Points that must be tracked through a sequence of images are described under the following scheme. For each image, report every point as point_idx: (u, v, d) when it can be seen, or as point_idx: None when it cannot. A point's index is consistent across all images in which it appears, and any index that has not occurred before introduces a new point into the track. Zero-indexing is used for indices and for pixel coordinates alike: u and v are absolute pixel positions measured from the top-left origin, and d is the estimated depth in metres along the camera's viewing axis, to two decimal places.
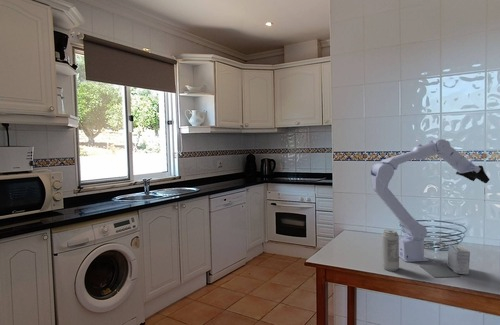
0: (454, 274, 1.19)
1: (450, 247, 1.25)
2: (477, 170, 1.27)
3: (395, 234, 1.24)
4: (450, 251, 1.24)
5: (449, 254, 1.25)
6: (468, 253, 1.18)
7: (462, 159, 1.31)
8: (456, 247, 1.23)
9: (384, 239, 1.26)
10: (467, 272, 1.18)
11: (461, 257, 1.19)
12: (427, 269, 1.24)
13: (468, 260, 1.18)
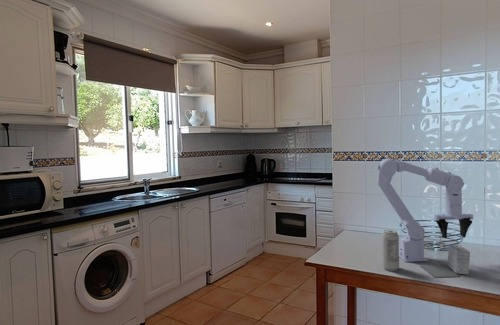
0: (454, 274, 1.19)
1: (450, 247, 1.25)
2: (435, 218, 1.32)
3: (395, 234, 1.24)
4: (451, 251, 1.24)
5: (449, 254, 1.25)
6: (468, 253, 1.18)
7: (448, 206, 1.30)
8: (456, 247, 1.23)
9: (384, 239, 1.26)
10: (467, 272, 1.18)
11: (461, 257, 1.19)
12: (427, 269, 1.24)
13: (468, 260, 1.18)
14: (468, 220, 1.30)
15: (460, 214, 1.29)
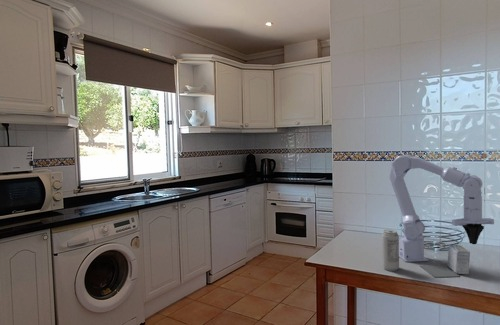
0: (454, 274, 1.19)
1: (450, 247, 1.25)
2: (452, 223, 1.23)
3: (395, 234, 1.24)
4: (451, 251, 1.24)
5: (449, 254, 1.25)
6: (468, 253, 1.18)
7: (467, 210, 1.21)
8: (456, 247, 1.23)
9: (384, 239, 1.26)
10: (467, 272, 1.18)
11: (461, 257, 1.19)
12: (427, 269, 1.24)
13: (468, 260, 1.18)
14: None
15: (480, 219, 1.20)
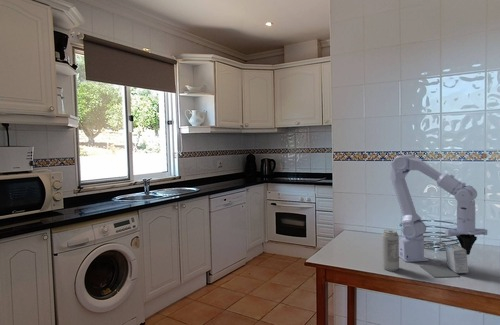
0: (454, 274, 1.19)
1: (447, 247, 1.25)
2: (446, 234, 1.22)
3: (395, 234, 1.24)
4: (448, 251, 1.25)
5: (447, 254, 1.26)
6: (464, 251, 1.19)
7: (460, 220, 1.21)
8: (452, 247, 1.23)
9: (384, 239, 1.26)
10: (467, 270, 1.19)
11: (458, 256, 1.19)
12: (427, 269, 1.24)
13: (465, 258, 1.19)
14: None
15: (473, 229, 1.19)
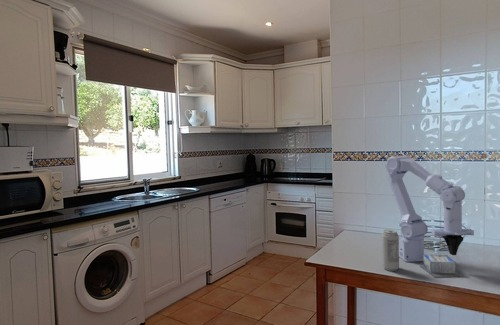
0: (454, 274, 1.19)
1: None
2: (432, 234, 1.22)
3: (395, 234, 1.24)
4: None
5: None
6: (431, 263, 1.21)
7: (446, 221, 1.21)
8: (426, 264, 1.25)
9: (384, 239, 1.26)
10: (452, 263, 1.19)
11: (437, 269, 1.20)
12: (427, 269, 1.24)
13: (439, 262, 1.20)
14: None
15: (460, 230, 1.19)
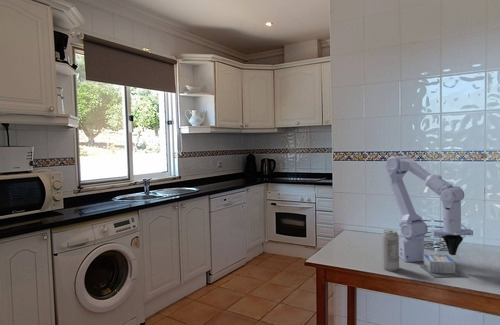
0: (454, 274, 1.19)
1: None
2: (432, 234, 1.22)
3: (395, 234, 1.24)
4: None
5: None
6: (431, 263, 1.21)
7: (446, 221, 1.21)
8: (426, 264, 1.25)
9: (384, 239, 1.26)
10: (452, 263, 1.19)
11: (437, 269, 1.20)
12: (427, 269, 1.24)
13: (439, 262, 1.20)
14: None
15: (459, 230, 1.19)
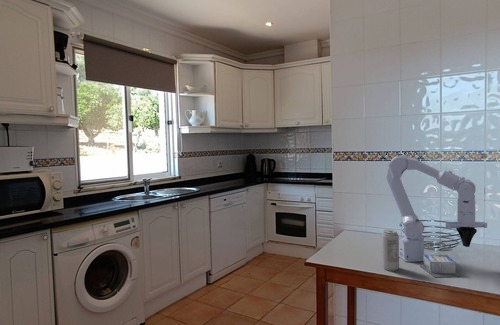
0: (454, 274, 1.19)
1: None
2: (446, 226, 1.26)
3: (395, 234, 1.24)
4: None
5: None
6: (431, 263, 1.21)
7: (460, 213, 1.24)
8: (426, 264, 1.25)
9: (384, 239, 1.26)
10: (452, 263, 1.19)
11: (437, 269, 1.20)
12: (427, 269, 1.24)
13: (439, 262, 1.20)
14: None
15: (473, 222, 1.22)
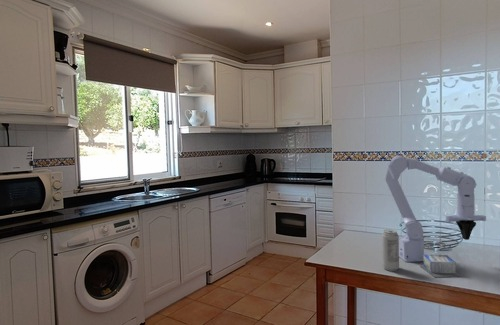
0: (454, 274, 1.19)
1: None
2: (446, 220, 1.29)
3: (395, 234, 1.24)
4: None
5: None
6: (431, 263, 1.21)
7: (460, 207, 1.27)
8: (426, 264, 1.25)
9: (384, 239, 1.26)
10: (452, 263, 1.19)
11: (437, 269, 1.20)
12: (427, 269, 1.24)
13: (439, 262, 1.20)
14: None
15: (473, 215, 1.26)
